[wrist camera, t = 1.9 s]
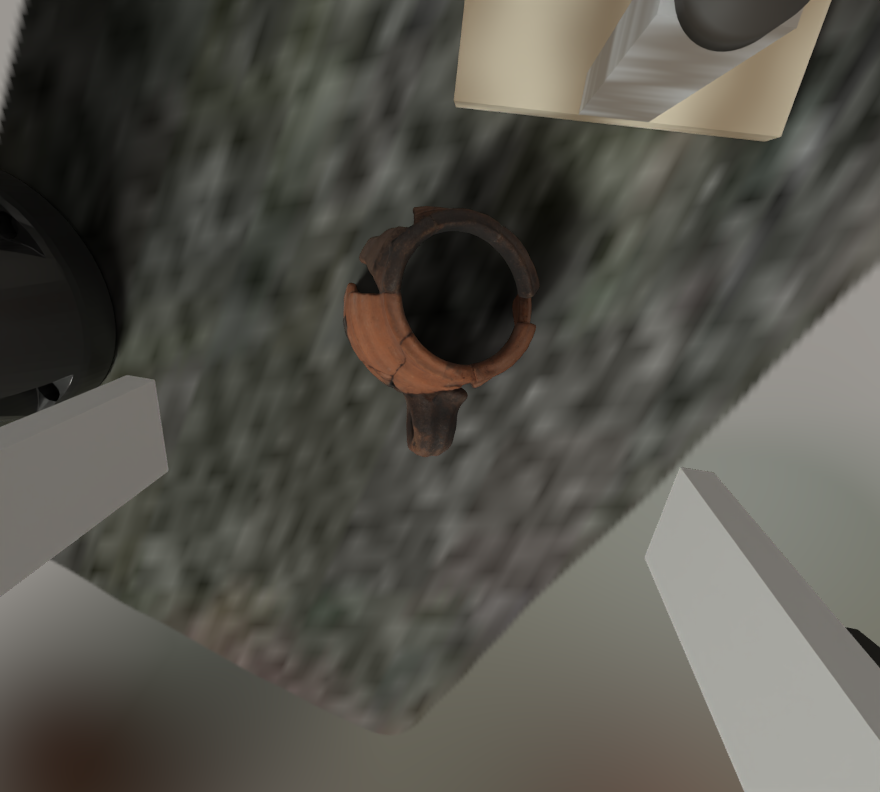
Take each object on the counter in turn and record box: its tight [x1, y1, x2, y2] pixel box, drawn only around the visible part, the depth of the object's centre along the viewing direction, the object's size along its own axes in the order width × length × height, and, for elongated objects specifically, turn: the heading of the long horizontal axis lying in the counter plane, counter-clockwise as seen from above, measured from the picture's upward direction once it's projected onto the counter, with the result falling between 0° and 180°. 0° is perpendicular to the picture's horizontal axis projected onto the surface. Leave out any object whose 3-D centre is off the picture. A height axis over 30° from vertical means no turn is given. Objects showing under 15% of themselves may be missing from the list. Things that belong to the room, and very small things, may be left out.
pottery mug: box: [343, 206, 540, 457], centre depth 22 cm, size 12×10×8 cm
